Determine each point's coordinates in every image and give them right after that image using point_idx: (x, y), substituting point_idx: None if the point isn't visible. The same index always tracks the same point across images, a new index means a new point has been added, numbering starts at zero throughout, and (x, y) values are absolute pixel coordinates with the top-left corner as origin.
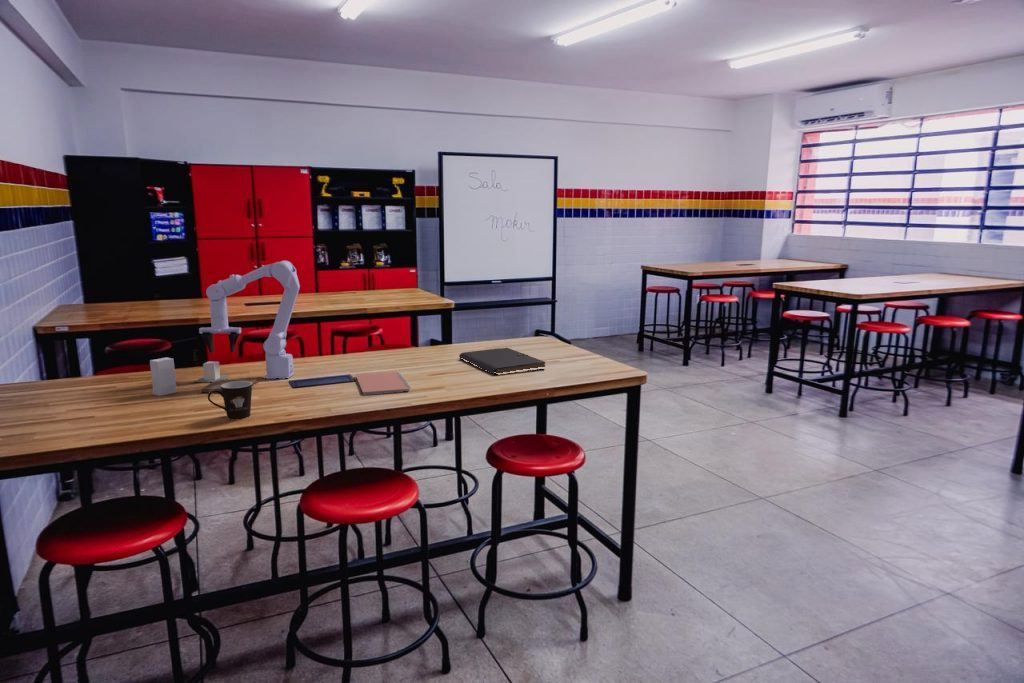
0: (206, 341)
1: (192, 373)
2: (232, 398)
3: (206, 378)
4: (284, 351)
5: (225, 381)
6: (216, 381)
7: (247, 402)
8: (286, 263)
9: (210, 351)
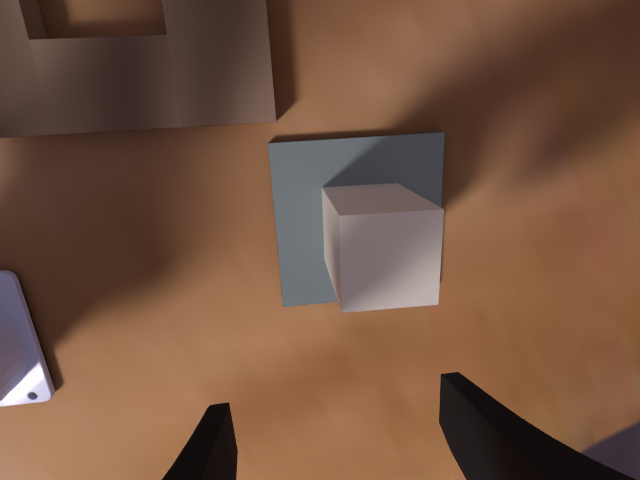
0: (573, 464)
1: (536, 353)
2: None
3: (384, 185)
4: None
5: (173, 57)
6: (247, 52)
7: None
8: None
9: (455, 379)
